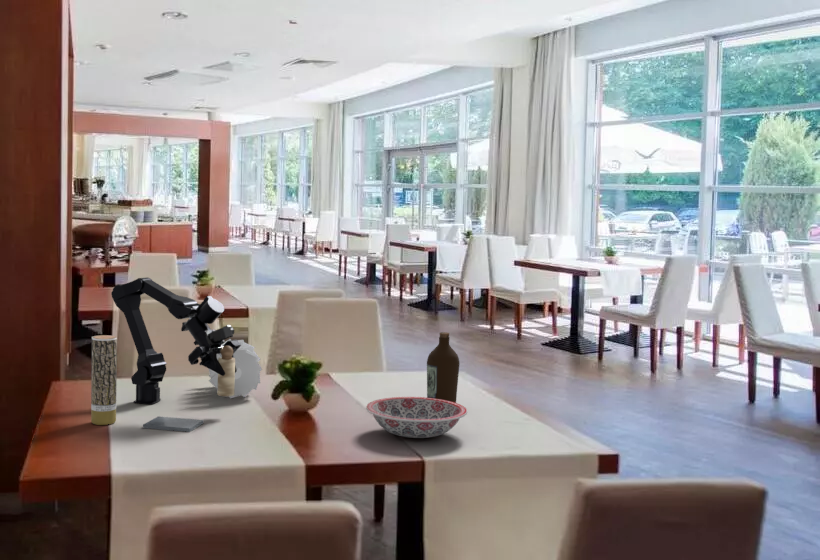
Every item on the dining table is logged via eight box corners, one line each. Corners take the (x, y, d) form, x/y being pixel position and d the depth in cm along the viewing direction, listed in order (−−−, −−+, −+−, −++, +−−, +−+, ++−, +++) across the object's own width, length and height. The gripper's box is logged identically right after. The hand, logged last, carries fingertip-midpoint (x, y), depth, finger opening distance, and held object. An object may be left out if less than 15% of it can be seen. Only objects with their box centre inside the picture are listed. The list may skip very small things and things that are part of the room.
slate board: (142, 428, 253) (142, 424, 253) (158, 419, 263) (158, 416, 263) (189, 431, 251) (189, 428, 251) (203, 423, 261) (203, 420, 260)
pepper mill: (214, 395, 267) (216, 346, 266) (221, 392, 272) (222, 343, 271) (230, 396, 267) (232, 347, 265) (236, 393, 271) (237, 344, 270)
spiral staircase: (245, 396, 316) (248, 409, 291) (199, 375, 312) (198, 386, 287) (268, 350, 317) (273, 359, 292) (223, 328, 313) (224, 335, 289)
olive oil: (448, 404, 298) (452, 330, 296) (463, 411, 288) (466, 335, 286) (419, 405, 294) (422, 330, 292) (433, 413, 284) (436, 335, 282)
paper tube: (121, 422, 259) (122, 336, 256) (104, 427, 252) (104, 339, 250) (103, 418, 261) (104, 334, 259) (85, 423, 255) (86, 337, 253)
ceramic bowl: (392, 453, 237) (393, 423, 237) (349, 427, 263) (349, 400, 262) (485, 443, 251) (486, 415, 250) (435, 419, 277) (436, 393, 276)
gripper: (196, 319, 261) (225, 361, 257) (236, 313, 277) (264, 353, 273) (175, 343, 265) (203, 384, 261) (216, 336, 282) (243, 375, 278)
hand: (229, 373), depth 268 cm, fingers closed on pepper mill, 5 cm apart
